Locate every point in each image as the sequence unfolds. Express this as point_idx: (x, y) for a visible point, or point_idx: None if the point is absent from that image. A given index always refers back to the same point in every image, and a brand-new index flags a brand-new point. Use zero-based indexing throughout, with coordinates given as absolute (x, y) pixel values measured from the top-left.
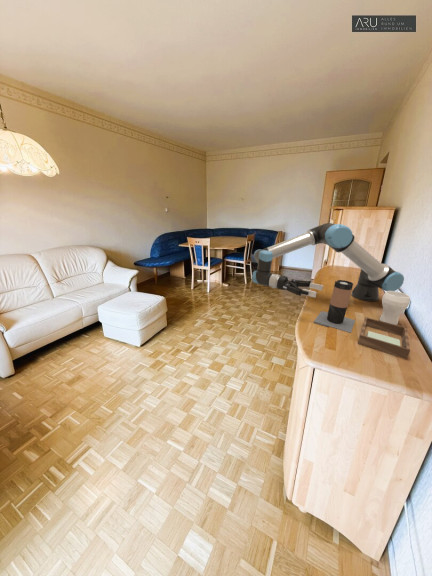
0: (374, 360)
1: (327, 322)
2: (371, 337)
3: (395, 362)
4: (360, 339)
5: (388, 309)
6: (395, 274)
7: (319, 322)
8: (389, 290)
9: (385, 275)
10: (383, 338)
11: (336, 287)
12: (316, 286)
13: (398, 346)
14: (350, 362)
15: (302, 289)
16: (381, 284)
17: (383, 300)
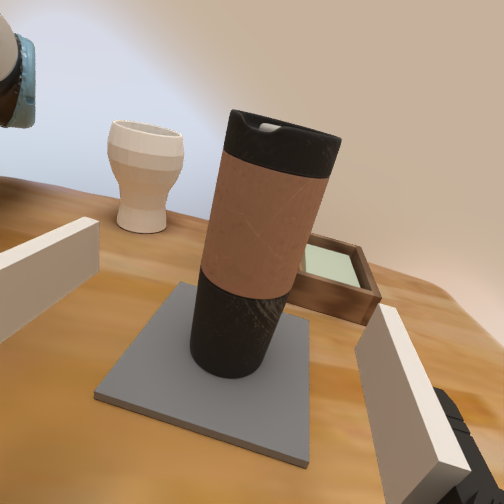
0: (413, 315)
1: (272, 383)
2: (346, 281)
3: (378, 285)
4: (375, 307)
5: (164, 188)
6: (33, 46)
7: (302, 426)
8: (34, 122)
9: (18, 53)
10: (326, 263)
11: (318, 177)
12: (49, 274)
13: (362, 254)
14: (490, 366)
15: (466, 474)
16: (7, 101)
17: (146, 164)
